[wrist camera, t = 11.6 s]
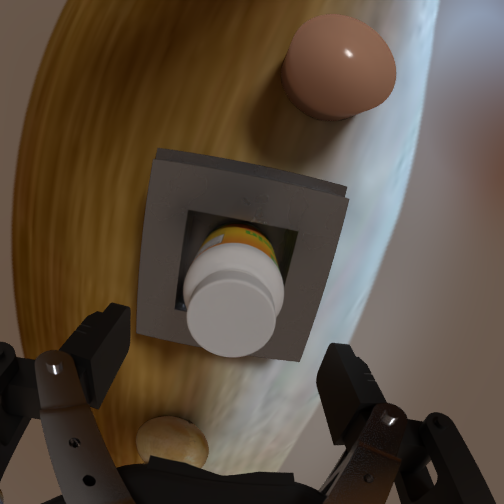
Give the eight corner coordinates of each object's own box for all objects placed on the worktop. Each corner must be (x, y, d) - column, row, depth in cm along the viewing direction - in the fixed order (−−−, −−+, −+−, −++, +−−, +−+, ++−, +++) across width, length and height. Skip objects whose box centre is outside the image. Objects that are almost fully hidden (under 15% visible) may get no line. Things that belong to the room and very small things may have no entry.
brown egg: (289, 31, 18) (300, 2, 13) (372, 57, 19) (400, 37, 14) (272, 108, 20) (280, 92, 15) (359, 132, 21) (388, 126, 16)
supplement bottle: (288, 261, 22) (316, 327, 13) (233, 303, 23) (226, 386, 14) (241, 205, 21) (237, 236, 12) (186, 252, 22) (146, 312, 13)
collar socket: (161, 148, 21) (144, 145, 17) (343, 185, 22) (362, 190, 18) (141, 314, 24) (127, 338, 21) (298, 342, 26) (305, 370, 22)
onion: (184, 398, 28) (172, 450, 21) (223, 439, 30) (220, 487, 23) (129, 414, 28) (112, 459, 22) (170, 451, 31) (161, 494, 24)
